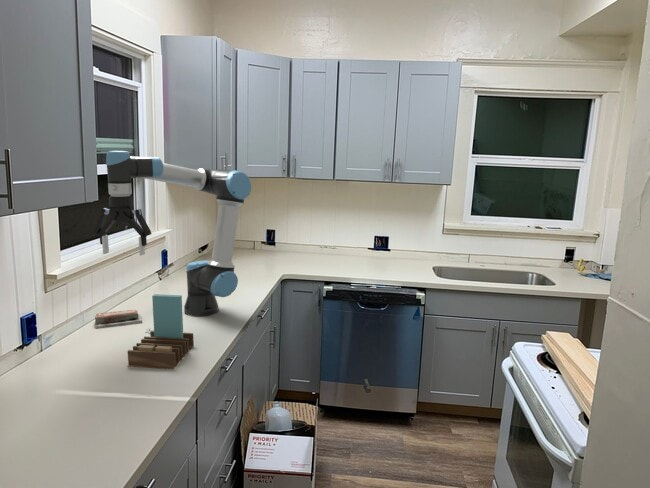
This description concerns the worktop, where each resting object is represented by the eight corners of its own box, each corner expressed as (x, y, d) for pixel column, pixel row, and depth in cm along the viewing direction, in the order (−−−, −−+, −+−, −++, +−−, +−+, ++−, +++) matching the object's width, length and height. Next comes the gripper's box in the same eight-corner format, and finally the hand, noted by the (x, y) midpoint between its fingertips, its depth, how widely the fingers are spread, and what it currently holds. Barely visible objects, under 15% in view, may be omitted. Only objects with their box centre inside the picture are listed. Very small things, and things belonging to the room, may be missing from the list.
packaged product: (94, 318, 192) (94, 311, 200) (95, 330, 193) (95, 321, 201) (142, 313, 199) (140, 306, 208) (142, 324, 200) (140, 316, 209)
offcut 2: (158, 362, 161) (157, 345, 160) (172, 363, 161) (172, 346, 160) (155, 364, 159) (155, 348, 158) (170, 365, 159) (169, 348, 158)
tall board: (157, 346, 174) (154, 294, 171) (183, 347, 174) (181, 295, 170) (154, 348, 172) (152, 295, 169) (181, 349, 172) (179, 296, 168)
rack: (151, 346, 177) (151, 331, 176) (193, 348, 176) (193, 333, 174) (126, 369, 158) (125, 352, 157) (173, 372, 157) (172, 355, 156)
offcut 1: (141, 361, 162) (140, 344, 161) (155, 362, 162) (154, 345, 160) (138, 363, 160) (137, 347, 159) (153, 364, 160) (152, 348, 158)
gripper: (80, 195, 165) (85, 254, 169) (149, 197, 163) (153, 257, 167) (92, 193, 172) (96, 250, 176) (159, 195, 170) (161, 253, 174)
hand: (124, 254), depth 172 cm, fingers open, 13 cm apart
